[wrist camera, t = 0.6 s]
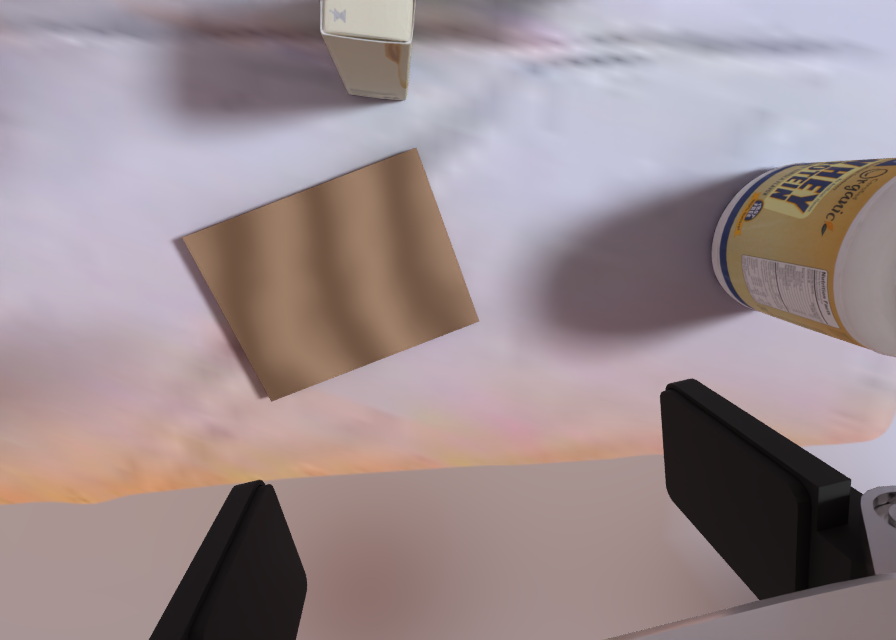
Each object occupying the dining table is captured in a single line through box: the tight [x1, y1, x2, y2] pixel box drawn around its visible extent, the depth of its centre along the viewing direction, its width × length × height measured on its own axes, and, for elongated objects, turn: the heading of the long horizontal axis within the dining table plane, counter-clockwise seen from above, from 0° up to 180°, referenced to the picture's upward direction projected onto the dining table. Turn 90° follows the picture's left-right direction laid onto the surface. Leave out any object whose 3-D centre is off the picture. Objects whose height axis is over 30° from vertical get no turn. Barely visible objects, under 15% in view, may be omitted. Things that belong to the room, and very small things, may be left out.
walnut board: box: [183, 148, 479, 401], centre depth 35 cm, size 18×14×1 cm
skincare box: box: [320, 0, 416, 100], centre depth 26 cm, size 6×4×12 cm, turn 175°
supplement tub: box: [712, 158, 896, 357], centre depth 31 cm, size 12×12×17 cm
